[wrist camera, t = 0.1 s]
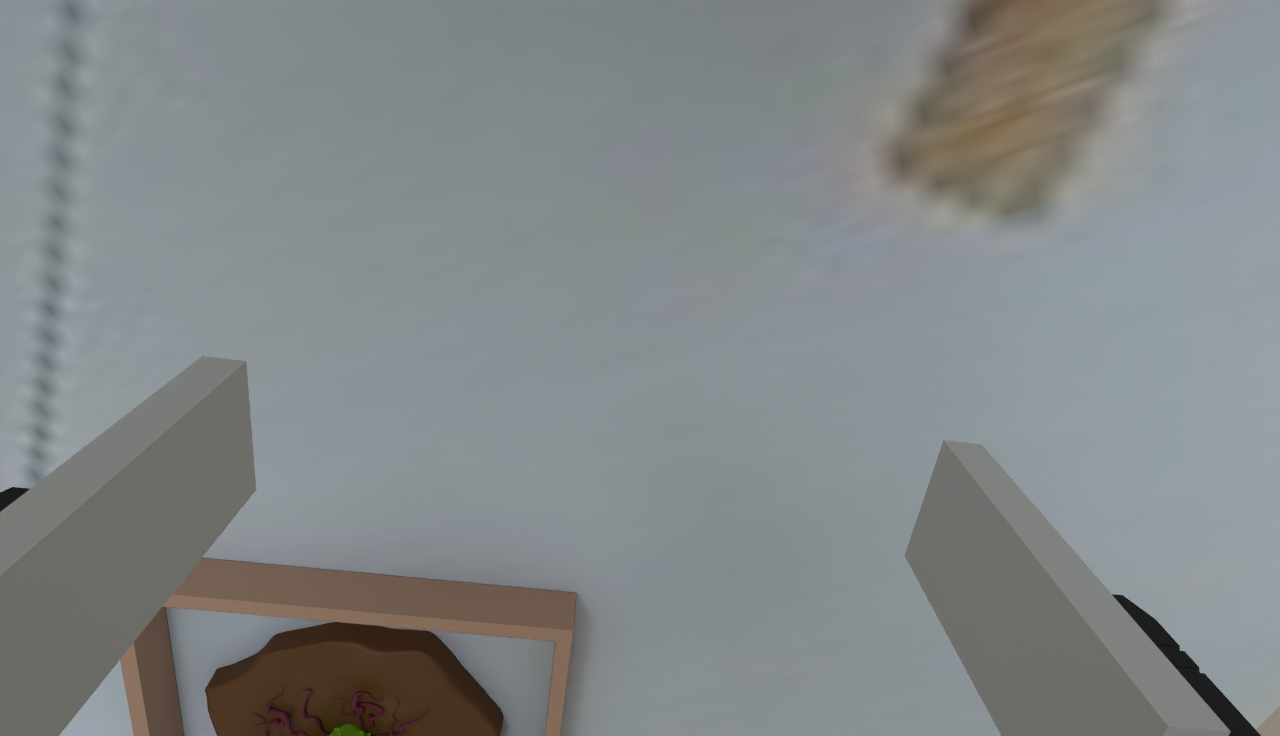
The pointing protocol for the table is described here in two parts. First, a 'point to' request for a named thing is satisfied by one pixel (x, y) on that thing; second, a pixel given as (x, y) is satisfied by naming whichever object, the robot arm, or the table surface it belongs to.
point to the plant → (351, 687)
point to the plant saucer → (346, 603)
